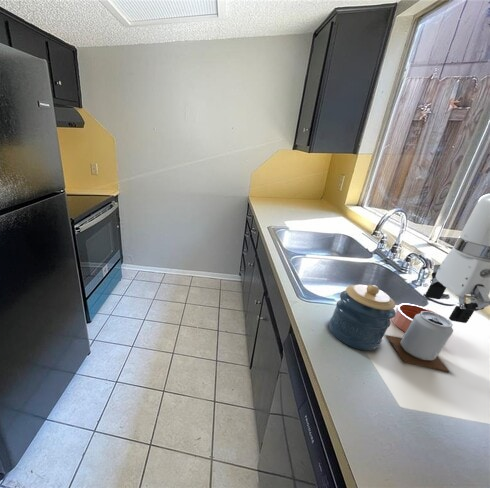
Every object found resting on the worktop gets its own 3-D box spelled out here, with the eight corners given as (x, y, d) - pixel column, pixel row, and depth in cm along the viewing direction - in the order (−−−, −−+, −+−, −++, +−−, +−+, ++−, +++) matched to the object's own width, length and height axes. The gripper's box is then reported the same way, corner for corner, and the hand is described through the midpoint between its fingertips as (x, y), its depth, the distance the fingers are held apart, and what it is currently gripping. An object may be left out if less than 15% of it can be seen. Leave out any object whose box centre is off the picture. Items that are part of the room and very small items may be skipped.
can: (398, 351, 72) (417, 317, 67) (399, 337, 77) (417, 305, 72) (434, 367, 67) (458, 332, 62) (433, 351, 73) (455, 318, 68)
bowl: (426, 320, 86) (433, 308, 84) (451, 346, 75) (460, 333, 73) (384, 312, 89) (390, 300, 87) (403, 336, 78) (410, 323, 76)
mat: (425, 344, 76) (426, 343, 75) (448, 372, 67) (449, 371, 67) (386, 336, 78) (386, 335, 78) (403, 361, 69) (404, 360, 69)
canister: (389, 345, 74) (416, 295, 67) (358, 356, 70) (384, 304, 63) (347, 316, 86) (366, 271, 78) (318, 324, 81) (336, 277, 74)
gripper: (537, 269, 50) (489, 335, 58) (470, 237, 66) (439, 292, 73) (488, 263, 52) (448, 328, 59) (434, 233, 67) (408, 288, 75)
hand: (443, 308), depth 66 cm, fingers open, 9 cm apart
